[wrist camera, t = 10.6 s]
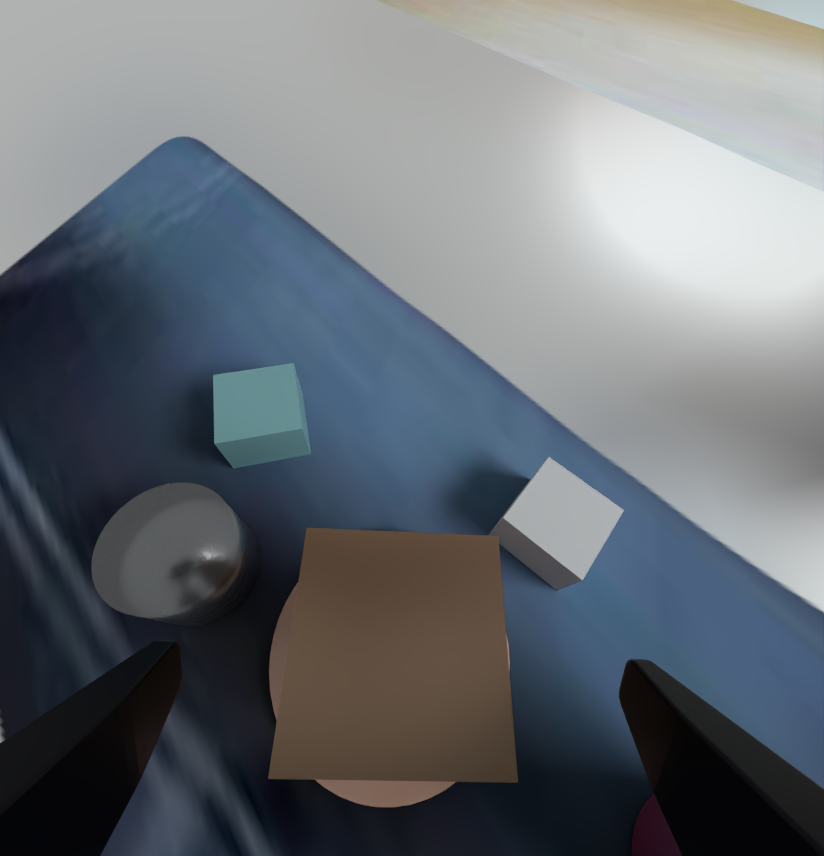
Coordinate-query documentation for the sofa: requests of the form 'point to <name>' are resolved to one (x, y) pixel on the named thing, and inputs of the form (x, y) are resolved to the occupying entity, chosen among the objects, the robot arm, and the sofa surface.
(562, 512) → the grey block
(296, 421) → the teal block
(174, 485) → the metal bowl
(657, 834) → the cup
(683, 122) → the sofa surface
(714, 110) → the sofa surface
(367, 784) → the coaster
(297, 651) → the walnut block
